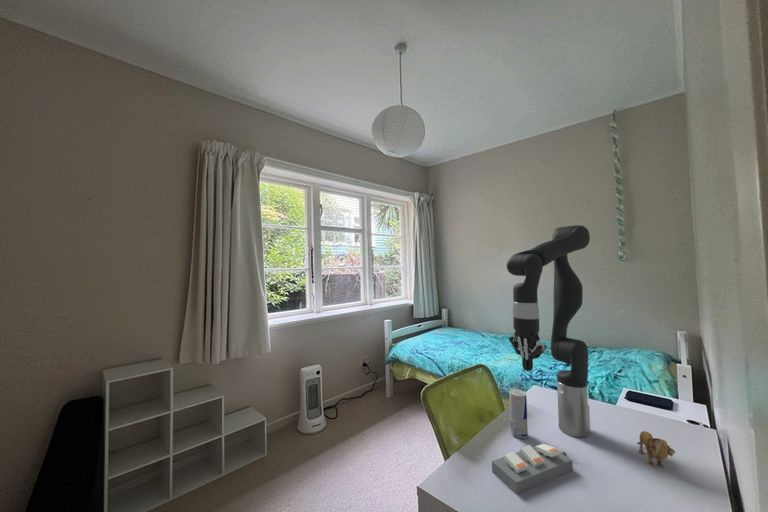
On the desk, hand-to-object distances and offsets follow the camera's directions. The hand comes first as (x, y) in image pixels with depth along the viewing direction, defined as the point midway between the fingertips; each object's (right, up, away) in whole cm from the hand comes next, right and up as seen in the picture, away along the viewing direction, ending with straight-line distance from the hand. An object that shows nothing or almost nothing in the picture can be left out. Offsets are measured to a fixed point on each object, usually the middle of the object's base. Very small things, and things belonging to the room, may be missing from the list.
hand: (527, 370), depth 91 cm
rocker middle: (-3, -24, -7) cm, 25 cm away
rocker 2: (+4, -24, -5) cm, 24 cm away
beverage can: (+2, -28, +11) cm, 30 cm away
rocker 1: (-9, -24, -9) cm, 27 cm away
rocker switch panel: (-1, -27, -7) cm, 28 cm away
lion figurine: (+37, -27, -4) cm, 46 cm away
